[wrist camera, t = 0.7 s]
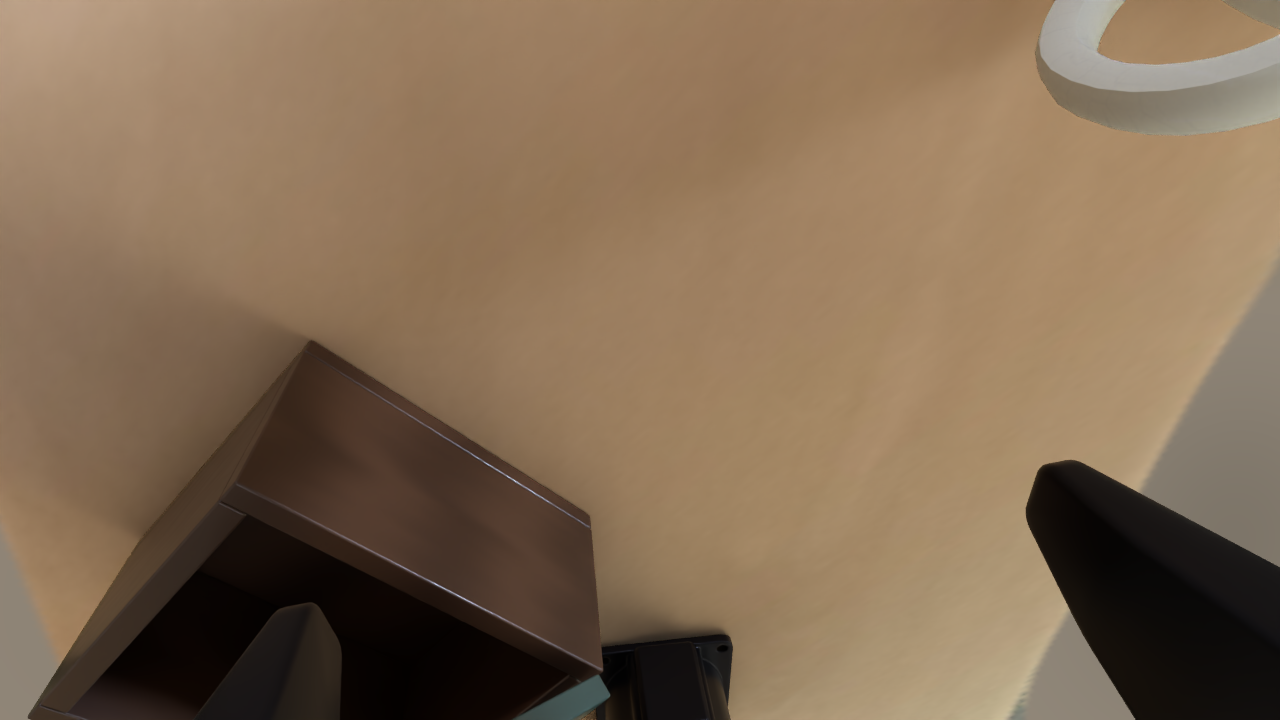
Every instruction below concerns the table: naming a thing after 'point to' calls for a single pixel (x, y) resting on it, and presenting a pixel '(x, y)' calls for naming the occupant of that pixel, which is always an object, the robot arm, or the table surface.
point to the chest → (347, 567)
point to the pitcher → (1157, 76)
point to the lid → (570, 702)
